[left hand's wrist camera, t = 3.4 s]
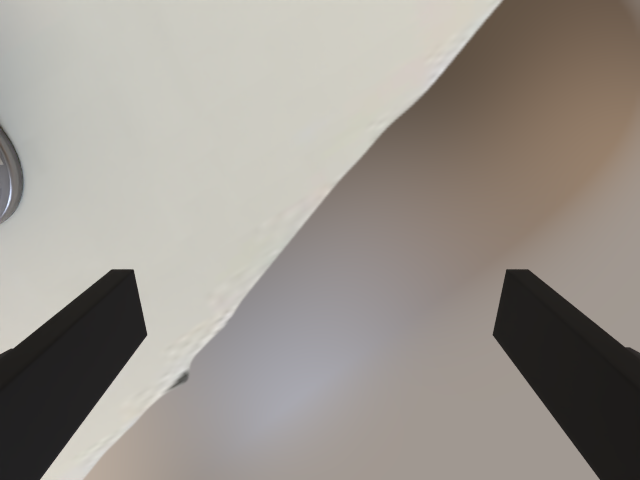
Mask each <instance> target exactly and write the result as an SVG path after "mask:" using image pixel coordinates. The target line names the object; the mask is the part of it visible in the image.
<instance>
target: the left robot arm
mask: <svg viewBox="0 0 640 480" xmlns="http://www.w3.org/2000/svg"><path fill="white" fill-rule="evenodd" d="M22 189H23V177H22V170H21V166H20V162H19V159H18V157H17V154H16V152H15V150H14V148H13V146H12V144H11V142H10V141H9V139H8V137H7V136H6V134H5V133H4V132H3V130H2V129H1V128H0V224H1V223H2V222H4V221H5V220H7V219H8V218H9V217H10V216H11V215H12V214H13V213H14V211H15V210H16V208H17V206H18V204H19V202H20V199H21V195H22ZM146 336H147V331H146V326H145V322H144V317H143V312H142V307H141V303H140V298H139V293H138V288H137V284H136V279H135V274H134V269H112V270H111V271H109V272H108V273H107V274H106V275H104V276H103V277H102V278H101V279H99V280H98V281H97V282H96V283H94V284H93V285H92V286H91V287H89V288H88V289H87V290H86V291H84V292H83V293H82V294H81V295H79V296H78V297H77V298H76V299H74V300H73V301H72V302H71V303H69V304H68V305H67V306H66V307H65V308H63V309H62V310H61V311H60V312H58V313H57V314H56V315H55V316H53V317H52V318H51V319H50V320H48V321H47V322H46V323H45V324H43V325H42V326H41V327H40V328H38V329H37V330H36V331H35V332H33V333H32V334H31V335H30V336H28V337H27V338H26V339H25V340H23V341H22V342H21V343H20V344H18V345H17V346H16V347H15V348H14V349H9V350H8V351H6V352H4V353H2V354H0V480H40V479H41V478H42V476H43V475H44V474H45V472H46V471H47V470H48V468H49V467H50V465H51V464H52V463H53V461H54V460H55V459H56V457H57V456H58V455H59V453H60V452H61V451H62V449H63V448H64V447H65V445H66V444H67V443H68V441H69V440H70V439H71V437H72V436H73V434H74V433H75V432H76V430H77V429H78V428H79V426H80V425H81V424H82V422H83V421H84V420H85V418H86V417H87V416H88V414H89V413H90V412H91V410H92V409H93V407H94V406H95V405H96V403H97V402H98V401H99V399H100V398H101V397H102V395H103V394H104V393H105V391H106V390H107V389H108V387H109V386H110V385H111V383H112V382H113V381H114V379H115V378H116V376H117V375H118V374H119V372H120V371H121V370H122V368H123V367H124V366H125V364H126V363H127V362H128V360H129V359H130V358H131V356H132V355H133V354H134V352H135V351H136V350H137V348H138V347H139V345H140V344H141V343H142V341H143V340H144V339H145V337H146ZM493 336H494V337H495V339H496V340H497V341H498V343H499V344H500V345H501V347H502V348H503V350H504V351H505V352H506V354H507V355H508V356H509V358H510V359H511V360H512V362H513V363H514V364H515V366H516V367H517V368H518V370H519V371H520V372H521V374H522V375H523V376H524V378H525V379H526V381H527V382H528V383H529V385H530V386H531V387H532V389H533V390H534V391H535V393H536V394H537V395H538V397H539V398H540V399H541V401H542V402H543V403H544V405H545V406H546V407H547V409H548V410H549V411H550V413H551V414H552V416H553V417H554V418H555V420H556V421H557V422H558V424H559V425H560V426H561V428H562V429H563V430H564V432H565V433H566V434H567V436H568V437H569V438H570V440H571V441H572V443H573V444H574V445H575V447H576V448H577V449H578V451H579V452H580V453H581V455H582V456H583V457H584V459H585V460H586V461H587V463H588V464H589V465H590V467H591V468H592V470H593V471H594V472H595V474H596V475H597V476H598V478H599V479H600V480H640V353H639V352H637V351H635V350H633V349H631V348H628V347H624V346H623V345H621V344H620V343H619V342H618V341H617V340H615V339H614V338H613V337H612V336H610V335H609V334H608V333H607V332H605V331H604V330H603V329H602V328H600V327H599V326H598V325H597V324H595V323H594V322H593V321H592V320H590V319H589V318H588V317H587V316H585V315H584V314H583V313H582V312H580V311H579V310H578V309H577V308H575V307H574V306H573V305H572V304H571V303H569V302H568V301H567V300H566V299H564V298H563V297H562V296H561V295H559V294H558V293H557V292H556V291H554V290H553V289H552V288H551V287H549V286H548V285H547V284H546V283H544V282H543V281H542V280H541V279H539V278H538V277H537V276H536V275H534V274H533V273H532V272H531V271H529V270H528V269H527V270H526V269H525V270H523V269H522V270H521V269H520V270H519V269H518V270H517V269H509V270H508V269H507V270H506V274H505V279H504V284H503V288H502V293H501V298H500V303H499V308H498V312H497V317H496V322H495V326H494V331H493Z"/></svg>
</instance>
